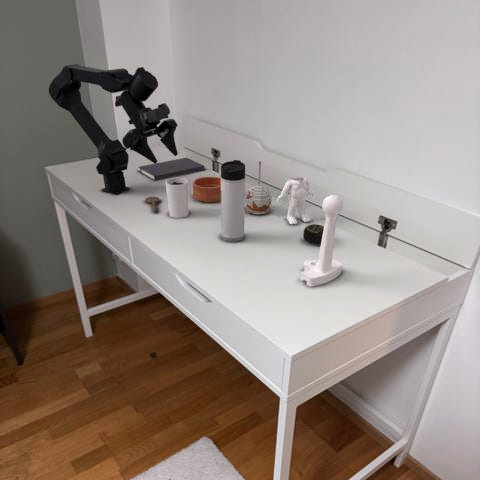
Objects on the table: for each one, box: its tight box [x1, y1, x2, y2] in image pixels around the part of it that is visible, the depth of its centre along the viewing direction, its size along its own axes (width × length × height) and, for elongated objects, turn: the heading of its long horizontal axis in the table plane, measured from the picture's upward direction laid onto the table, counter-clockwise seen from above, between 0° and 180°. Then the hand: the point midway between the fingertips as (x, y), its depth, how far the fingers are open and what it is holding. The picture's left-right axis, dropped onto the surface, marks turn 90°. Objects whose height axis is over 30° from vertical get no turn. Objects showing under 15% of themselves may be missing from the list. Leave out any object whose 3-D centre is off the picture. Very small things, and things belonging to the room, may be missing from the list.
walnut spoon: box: [144, 196, 161, 214], centre depth 144 cm, size 12×4×1 cm, turn 15°
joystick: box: [300, 194, 344, 288], centre depth 105 cm, size 11×8×20 cm
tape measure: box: [302, 223, 324, 246], centre depth 125 cm, size 7×7×4 cm
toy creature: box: [276, 176, 314, 225], centre depth 134 cm, size 12×6×12 cm, turn 116°
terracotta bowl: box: [192, 176, 221, 203], centre depth 150 cm, size 11×11×5 cm
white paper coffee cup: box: [165, 177, 190, 219], centre depth 137 cm, size 7×7×10 cm
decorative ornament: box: [245, 160, 273, 215], centre depth 139 cm, size 8×8×15 cm
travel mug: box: [220, 159, 246, 243], centre depth 122 cm, size 6×7×20 cm
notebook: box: [138, 157, 205, 181], centre depth 173 cm, size 13×2×21 cm
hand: (166, 158), depth 137 cm, fingers open, 9 cm apart
